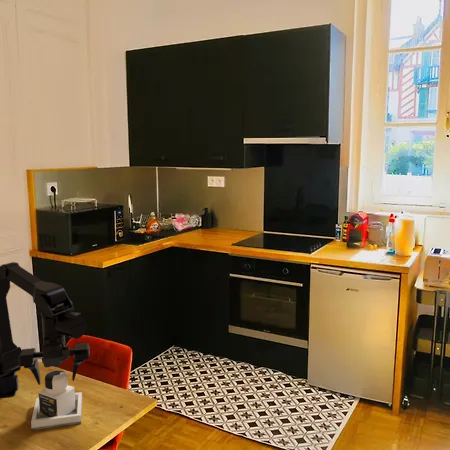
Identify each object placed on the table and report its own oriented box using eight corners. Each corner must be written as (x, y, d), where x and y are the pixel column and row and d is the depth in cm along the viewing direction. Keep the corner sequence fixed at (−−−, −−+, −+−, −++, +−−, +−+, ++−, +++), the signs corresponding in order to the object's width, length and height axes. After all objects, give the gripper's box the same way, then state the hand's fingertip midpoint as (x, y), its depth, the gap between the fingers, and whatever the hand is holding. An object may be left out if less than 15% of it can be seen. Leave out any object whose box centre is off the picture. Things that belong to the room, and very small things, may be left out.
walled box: (31, 430, 132) (31, 421, 132) (37, 405, 144) (36, 397, 144) (81, 423, 135) (80, 415, 135) (82, 399, 148) (81, 392, 147)
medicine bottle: (39, 414, 138) (36, 376, 136) (58, 403, 145) (56, 365, 142) (57, 421, 135) (55, 382, 133) (76, 409, 141) (74, 371, 139)
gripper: (13, 345, 125) (17, 401, 128) (87, 338, 130) (90, 392, 133) (19, 329, 136) (23, 381, 139) (88, 323, 141) (90, 373, 143)
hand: (56, 382), depth 138 cm, fingers open, 9 cm apart
